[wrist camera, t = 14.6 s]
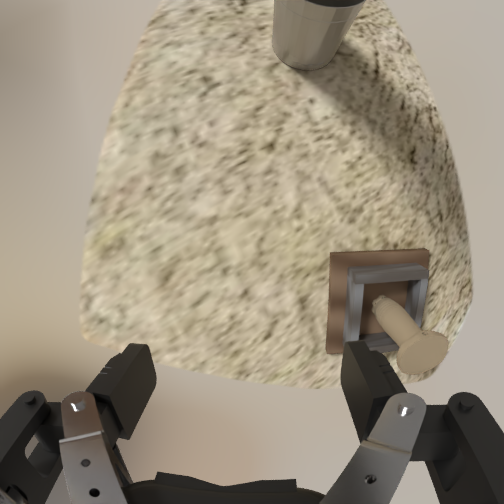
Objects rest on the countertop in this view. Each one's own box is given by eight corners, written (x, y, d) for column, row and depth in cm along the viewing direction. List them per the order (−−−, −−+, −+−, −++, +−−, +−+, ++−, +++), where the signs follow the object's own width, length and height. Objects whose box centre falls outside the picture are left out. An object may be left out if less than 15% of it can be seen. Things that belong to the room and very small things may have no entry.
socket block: (329, 252, 40) (339, 262, 35) (424, 248, 40) (442, 257, 34) (325, 349, 44) (332, 368, 39) (412, 338, 43) (425, 354, 38)
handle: (361, 292, 40) (403, 343, 25) (399, 286, 40) (451, 330, 25) (360, 321, 41) (397, 379, 26) (397, 314, 41) (443, 366, 26)
